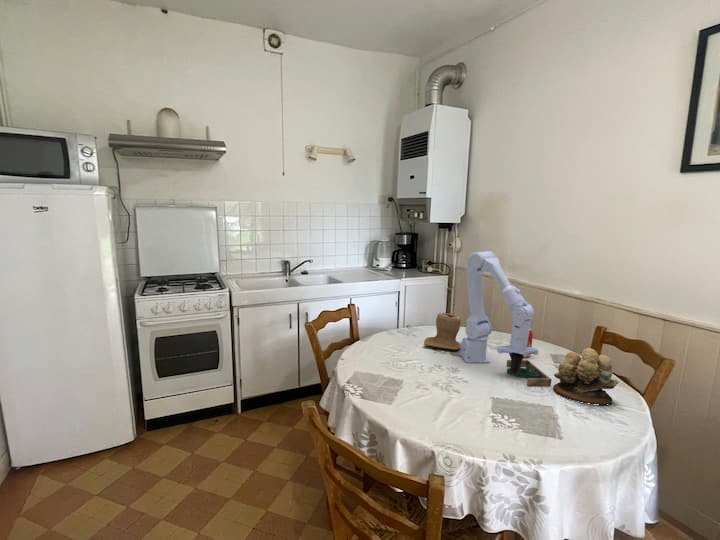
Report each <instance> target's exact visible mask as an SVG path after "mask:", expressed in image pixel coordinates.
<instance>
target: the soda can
mask: <svg viewBox="0 0 720 540" xmlns="http://www.w3.org/2000/svg"><path fill="white" fill-rule="evenodd" d="M533 336H534V332H533V331H532V328H531V327H530V330H529V336H528V343H527V347H531V348H533V338H534V337H533ZM522 355H523V356H524V358H528V357H530V356H531V354H522Z"/></svg>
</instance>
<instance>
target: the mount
mask: <svg viewBox="0 0 720 540" xmlns="http://www.w3.org/2000/svg"><path fill="white" fill-rule="evenodd" d="M528 361H529V360H528ZM528 361H527V362H526V367H521V362H520V363H519V365H518V371H517V373H513V372H512V371H511V370H510V367H507V369H506V373H507V374H508V375H511V376H514V377H518V378H522V379H523V378H524V379H527V378H539V374H537V373H534V372H531V371H530V362H531V361H529V362H528Z"/></svg>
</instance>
